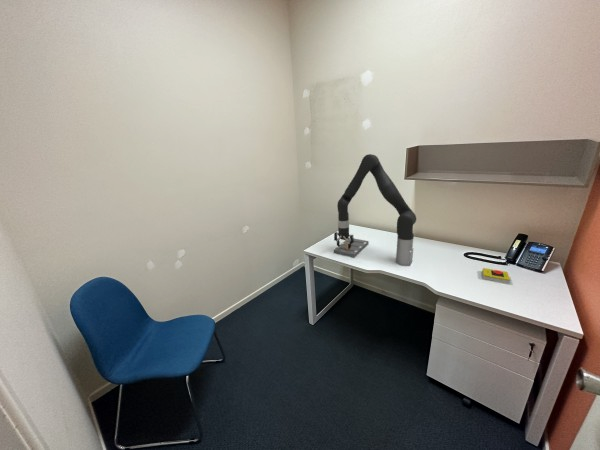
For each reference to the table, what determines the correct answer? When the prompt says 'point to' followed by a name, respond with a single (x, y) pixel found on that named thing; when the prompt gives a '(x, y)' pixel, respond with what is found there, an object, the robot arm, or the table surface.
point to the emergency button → (495, 276)
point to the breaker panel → (354, 250)
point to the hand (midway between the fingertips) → (343, 247)
